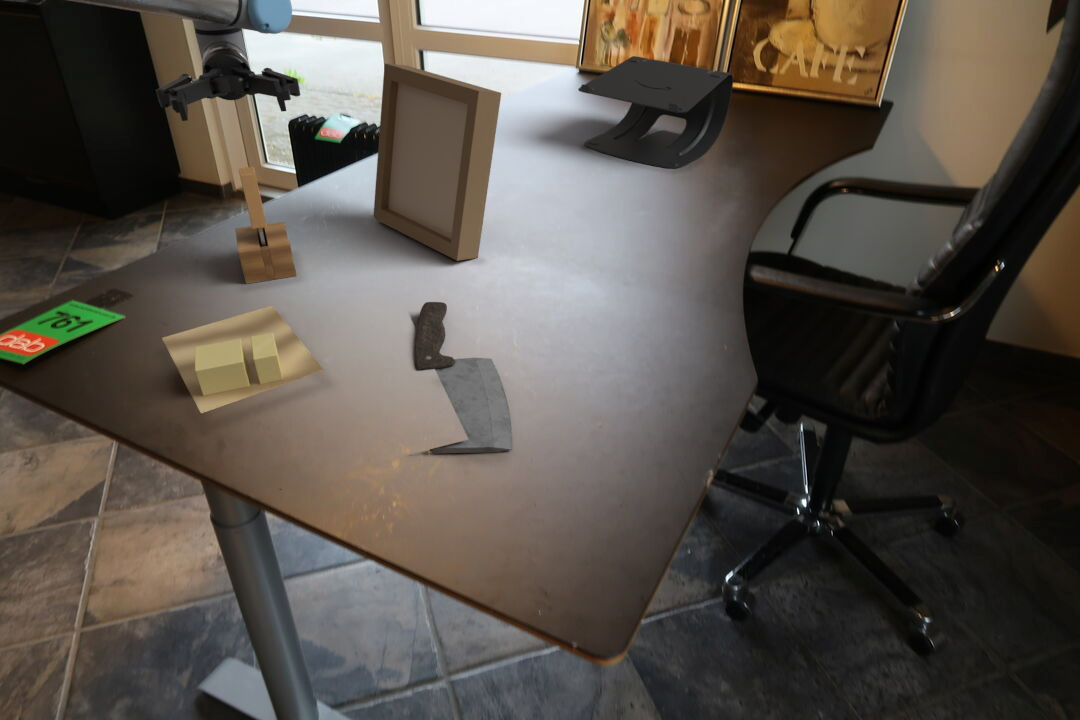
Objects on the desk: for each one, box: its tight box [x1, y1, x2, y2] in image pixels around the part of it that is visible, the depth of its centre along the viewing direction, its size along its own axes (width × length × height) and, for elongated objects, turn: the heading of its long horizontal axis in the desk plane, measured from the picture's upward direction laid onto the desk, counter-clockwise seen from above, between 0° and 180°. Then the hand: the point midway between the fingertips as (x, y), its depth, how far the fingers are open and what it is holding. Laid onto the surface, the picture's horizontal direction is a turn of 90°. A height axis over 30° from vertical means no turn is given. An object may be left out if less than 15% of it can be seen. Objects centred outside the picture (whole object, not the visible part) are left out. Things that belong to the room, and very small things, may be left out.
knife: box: [238, 166, 268, 247], centre depth 102 cm, size 6×2×15 cm, turn 22°
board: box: [161, 305, 324, 414], centre depth 86 cm, size 18×14×2 cm
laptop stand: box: [578, 55, 734, 169], centre depth 151 cm, size 26×24×16 cm
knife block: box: [234, 221, 297, 285], centre depth 105 cm, size 9×7×5 cm
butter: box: [195, 339, 250, 396], centre depth 80 cm, size 5×5×4 cm
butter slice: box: [251, 333, 283, 384], centre depth 82 cm, size 5×2×4 cm, turn 22°
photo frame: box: [372, 62, 502, 262], centre depth 111 cm, size 15×22×25 cm
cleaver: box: [414, 301, 513, 454], centre depth 84 cm, size 29×10×2 cm, turn 13°
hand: (233, 106), depth 102 cm, fingers open, 13 cm apart
